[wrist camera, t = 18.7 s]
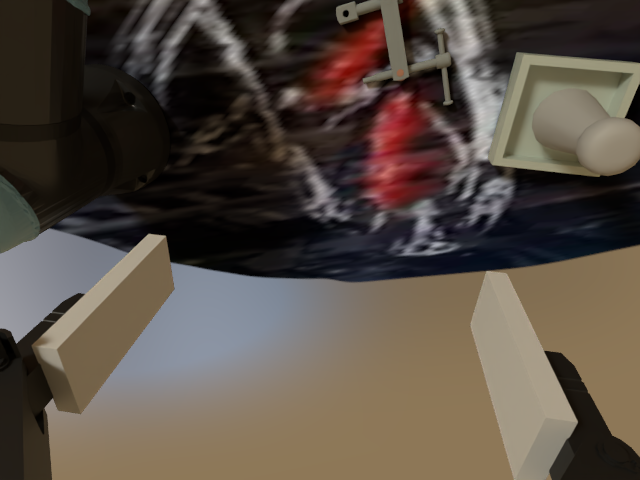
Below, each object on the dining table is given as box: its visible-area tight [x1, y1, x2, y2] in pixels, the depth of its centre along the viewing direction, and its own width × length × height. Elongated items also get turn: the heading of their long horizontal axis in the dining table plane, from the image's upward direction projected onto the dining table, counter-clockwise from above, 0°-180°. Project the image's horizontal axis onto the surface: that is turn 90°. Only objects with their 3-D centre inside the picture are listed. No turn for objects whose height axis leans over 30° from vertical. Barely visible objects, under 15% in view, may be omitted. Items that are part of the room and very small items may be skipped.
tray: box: [488, 52, 640, 177], centre depth 40 cm, size 11×11×2 cm
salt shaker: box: [532, 88, 640, 176], centre depth 35 cm, size 6×6×13 cm
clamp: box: [336, 0, 453, 105], centre depth 40 cm, size 15×2×10 cm
